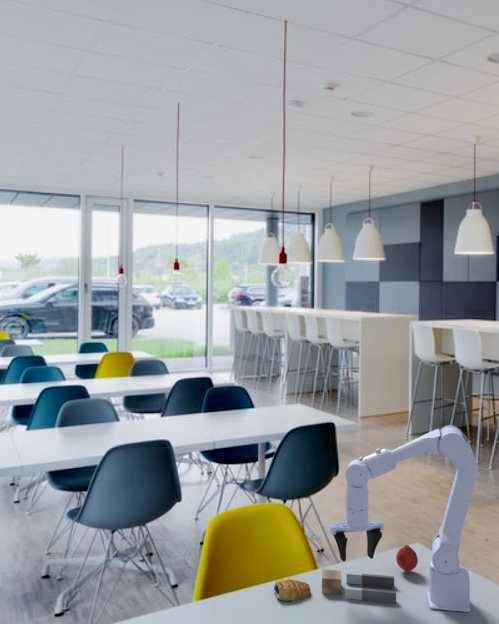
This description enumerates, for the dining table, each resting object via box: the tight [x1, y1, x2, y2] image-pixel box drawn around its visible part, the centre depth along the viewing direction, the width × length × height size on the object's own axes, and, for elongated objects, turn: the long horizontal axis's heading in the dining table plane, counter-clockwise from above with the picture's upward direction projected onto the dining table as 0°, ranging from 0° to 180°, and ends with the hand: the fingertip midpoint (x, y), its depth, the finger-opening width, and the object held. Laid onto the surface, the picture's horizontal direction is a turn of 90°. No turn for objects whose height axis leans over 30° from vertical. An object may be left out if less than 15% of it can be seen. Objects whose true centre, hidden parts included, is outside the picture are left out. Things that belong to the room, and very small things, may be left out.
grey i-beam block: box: [345, 571, 397, 604], centre depth 151 cm, size 12×9×2 cm
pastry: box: [273, 578, 311, 602], centre depth 150 cm, size 9×7×4 cm
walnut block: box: [321, 568, 342, 595], centre depth 153 cm, size 5×5×4 cm
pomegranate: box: [395, 543, 419, 573], centre depth 162 cm, size 6×6×8 cm
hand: (356, 558), depth 152 cm, fingers open, 7 cm apart
